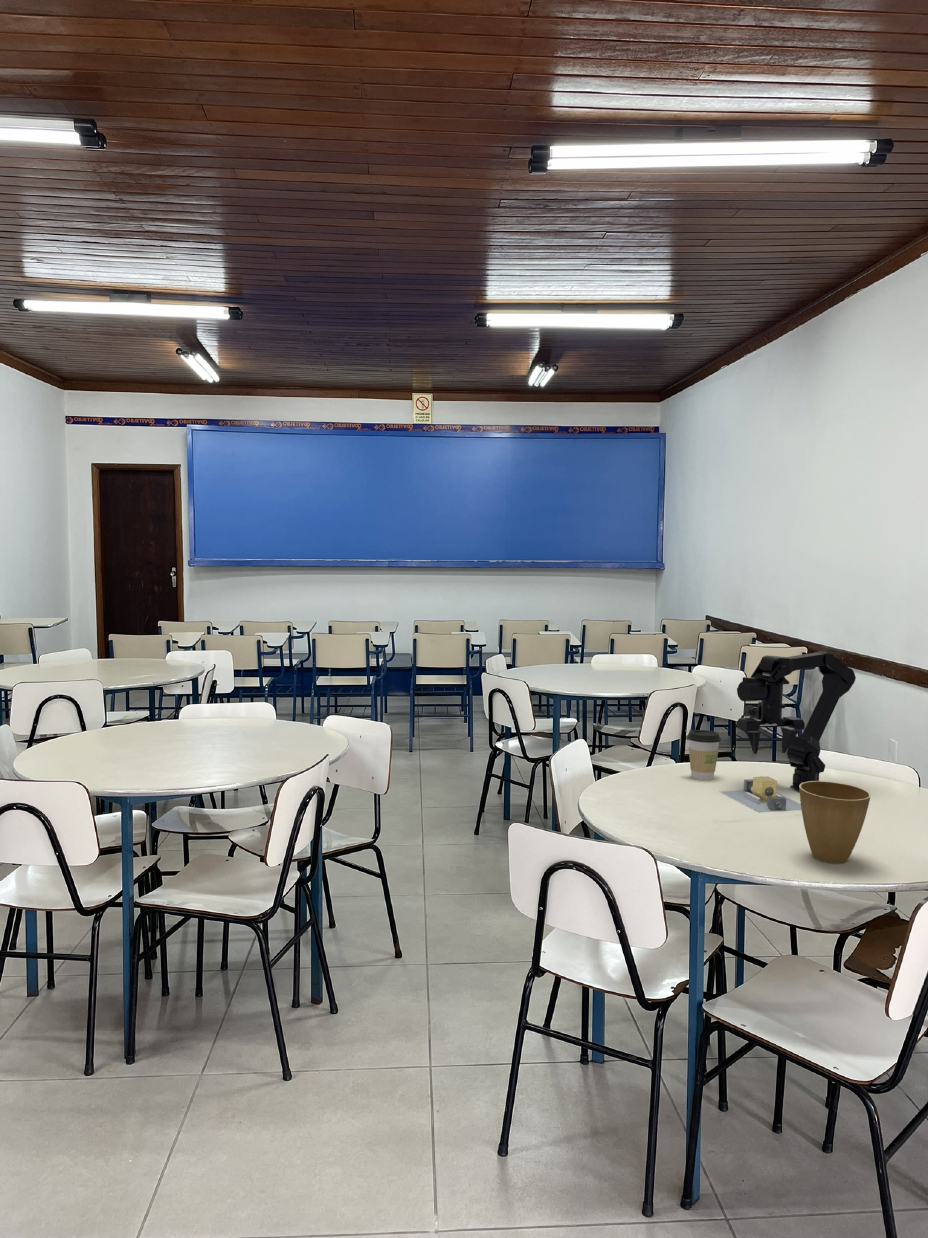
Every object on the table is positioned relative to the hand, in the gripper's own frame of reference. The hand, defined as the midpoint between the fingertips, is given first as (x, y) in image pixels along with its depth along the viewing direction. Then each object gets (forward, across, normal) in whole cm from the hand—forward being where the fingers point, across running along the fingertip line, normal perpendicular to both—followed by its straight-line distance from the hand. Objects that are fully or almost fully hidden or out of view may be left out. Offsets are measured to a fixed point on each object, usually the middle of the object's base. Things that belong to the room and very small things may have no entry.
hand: (769, 753), depth 244 cm
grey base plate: (+12, +7, +9) cm, 17 cm away
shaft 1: (+11, +6, +2) cm, 12 cm away
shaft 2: (+11, +8, +16) cm, 21 cm away
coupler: (+11, +7, +9) cm, 16 cm away
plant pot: (+12, +16, +50) cm, 54 cm away
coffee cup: (+12, +12, -16) cm, 23 cm away
